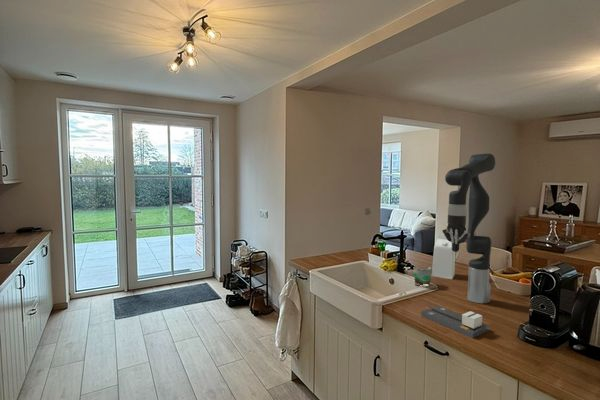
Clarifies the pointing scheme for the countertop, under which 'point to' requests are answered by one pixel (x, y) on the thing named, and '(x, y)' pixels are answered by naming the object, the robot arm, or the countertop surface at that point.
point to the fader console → (453, 321)
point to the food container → (422, 276)
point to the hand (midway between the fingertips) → (455, 251)
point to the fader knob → (472, 319)
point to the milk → (443, 259)
